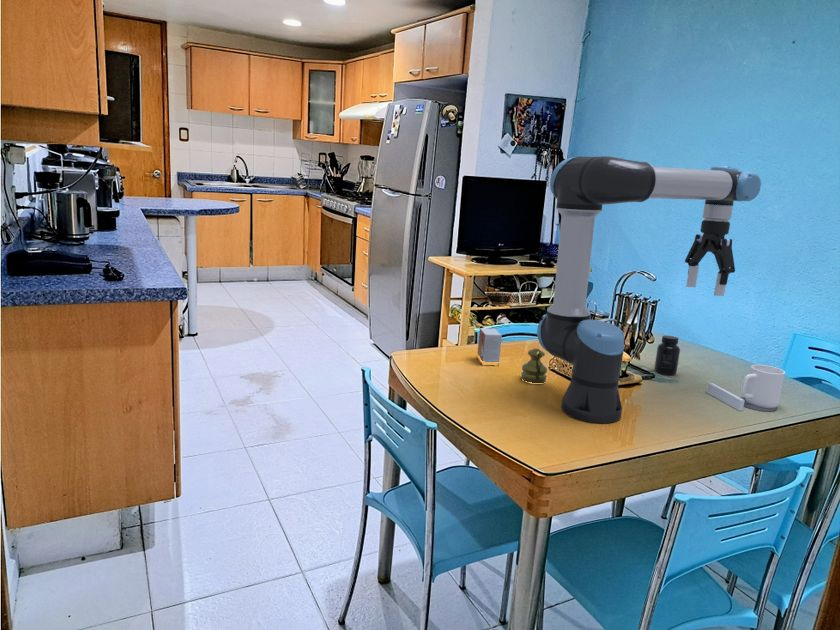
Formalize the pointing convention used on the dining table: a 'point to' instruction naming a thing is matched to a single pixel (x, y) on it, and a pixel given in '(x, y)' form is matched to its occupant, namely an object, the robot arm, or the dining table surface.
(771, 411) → the coaster
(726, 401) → the acrylic wall
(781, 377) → the cup
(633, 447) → the dining table surface
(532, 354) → the olive green tiered piece
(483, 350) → the small box
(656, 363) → the supplement bottle
